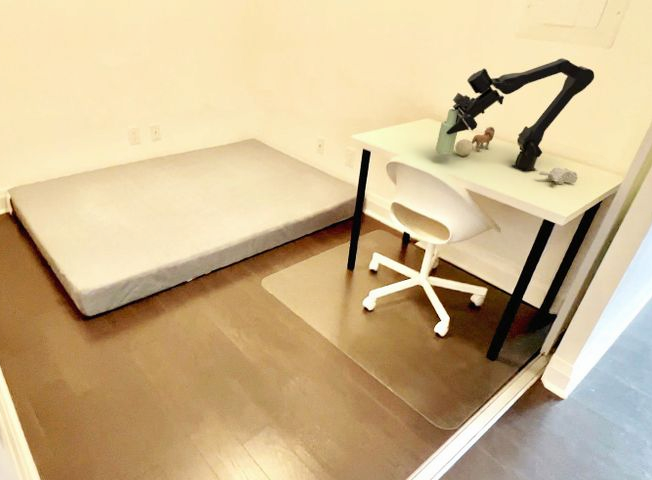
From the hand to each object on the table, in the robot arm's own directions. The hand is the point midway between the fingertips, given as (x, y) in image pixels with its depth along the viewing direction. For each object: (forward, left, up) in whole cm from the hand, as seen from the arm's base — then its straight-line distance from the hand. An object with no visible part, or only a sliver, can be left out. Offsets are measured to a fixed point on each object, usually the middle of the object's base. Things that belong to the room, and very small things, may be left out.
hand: (445, 130), depth 169 cm
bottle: (-1, -1, -8) cm, 8 cm away
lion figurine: (+8, -30, -13) cm, 34 cm away
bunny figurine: (-32, -31, -13) cm, 46 cm away
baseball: (+4, -17, -13) cm, 21 cm away
